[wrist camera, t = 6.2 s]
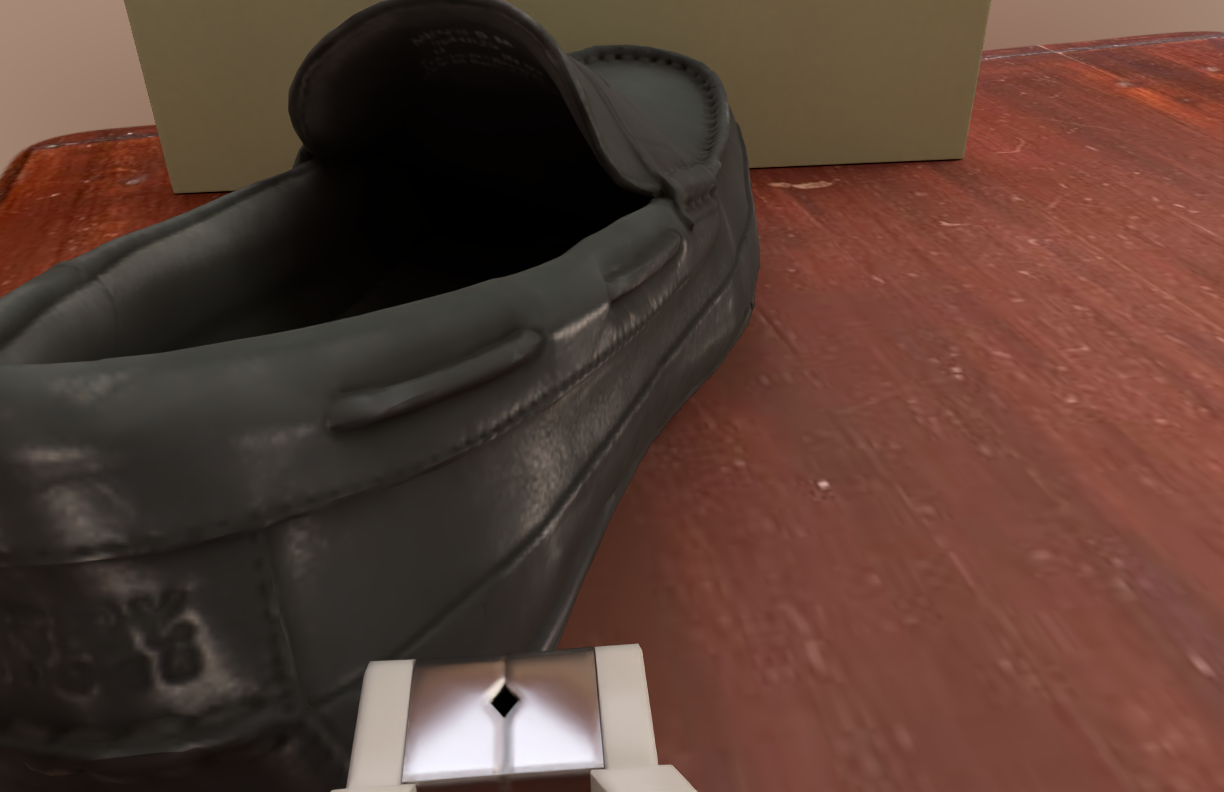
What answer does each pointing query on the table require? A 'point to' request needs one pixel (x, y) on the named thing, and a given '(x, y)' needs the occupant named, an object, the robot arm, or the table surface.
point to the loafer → (355, 398)
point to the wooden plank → (577, 19)
